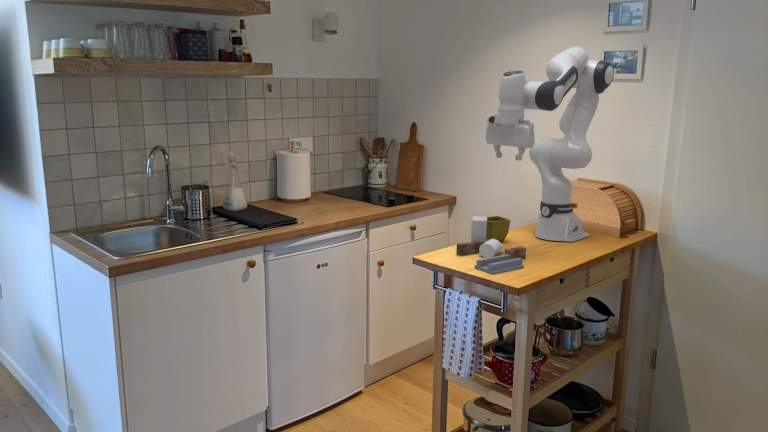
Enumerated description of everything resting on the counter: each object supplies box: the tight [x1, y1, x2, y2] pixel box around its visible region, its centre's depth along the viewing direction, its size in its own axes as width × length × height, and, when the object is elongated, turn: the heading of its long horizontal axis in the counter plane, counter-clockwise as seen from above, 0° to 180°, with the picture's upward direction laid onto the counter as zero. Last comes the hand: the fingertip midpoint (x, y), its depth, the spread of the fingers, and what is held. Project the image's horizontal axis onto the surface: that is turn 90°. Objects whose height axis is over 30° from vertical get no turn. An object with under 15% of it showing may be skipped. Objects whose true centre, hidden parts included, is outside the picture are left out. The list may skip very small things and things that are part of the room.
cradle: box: [474, 254, 525, 276], centre depth 202 cm, size 14×8×3 cm, turn 124°
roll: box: [479, 239, 504, 259], centre depth 219 cm, size 6×12×6 cm, turn 150°
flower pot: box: [486, 215, 511, 243], centre depth 238 cm, size 9×9×9 cm
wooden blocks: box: [455, 238, 527, 261], centre depth 216 cm, size 17×17×4 cm
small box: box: [470, 215, 488, 242], centre depth 231 cm, size 8×6×10 cm
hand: (508, 159), depth 214 cm, fingers open, 8 cm apart
